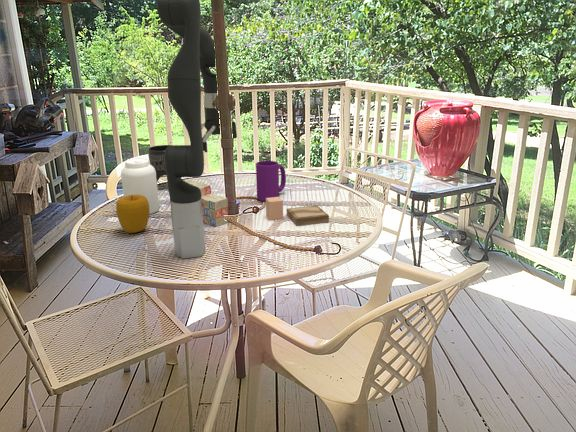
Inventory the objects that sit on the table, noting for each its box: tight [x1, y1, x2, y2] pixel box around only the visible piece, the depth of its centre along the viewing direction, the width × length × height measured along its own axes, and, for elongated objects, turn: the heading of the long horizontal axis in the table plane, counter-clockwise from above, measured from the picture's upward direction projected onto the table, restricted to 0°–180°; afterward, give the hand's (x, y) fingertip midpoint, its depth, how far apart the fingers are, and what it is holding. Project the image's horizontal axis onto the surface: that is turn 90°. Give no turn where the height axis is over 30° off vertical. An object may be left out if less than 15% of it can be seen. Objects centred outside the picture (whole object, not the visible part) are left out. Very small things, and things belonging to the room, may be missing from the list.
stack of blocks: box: [184, 179, 229, 228], centre depth 180 cm, size 21×6×12 cm, turn 47°
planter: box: [147, 144, 172, 183], centre depth 217 cm, size 13×13×18 cm
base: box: [286, 205, 330, 227], centre depth 180 cm, size 12×12×3 cm
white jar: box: [120, 157, 160, 215], centre depth 187 cm, size 12×12×20 cm
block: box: [265, 196, 284, 221], centre depth 181 cm, size 5×5×7 cm
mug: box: [255, 160, 287, 203], centre depth 203 cm, size 9×16×15 cm, turn 142°
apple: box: [115, 195, 150, 234], centre depth 169 cm, size 11×11×13 cm
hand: (217, 151), depth 180 cm, fingers open, 8 cm apart
